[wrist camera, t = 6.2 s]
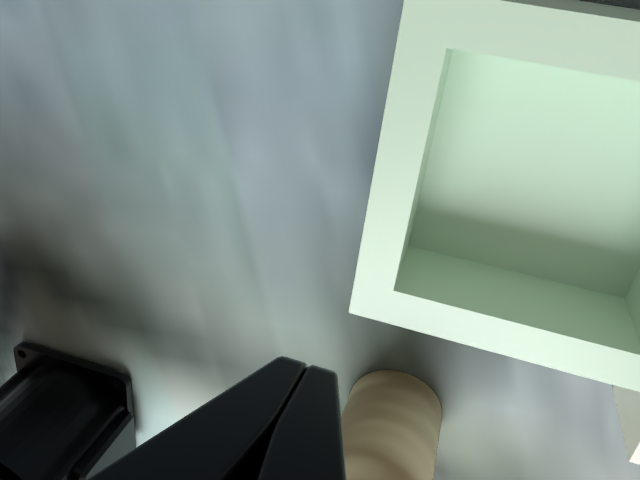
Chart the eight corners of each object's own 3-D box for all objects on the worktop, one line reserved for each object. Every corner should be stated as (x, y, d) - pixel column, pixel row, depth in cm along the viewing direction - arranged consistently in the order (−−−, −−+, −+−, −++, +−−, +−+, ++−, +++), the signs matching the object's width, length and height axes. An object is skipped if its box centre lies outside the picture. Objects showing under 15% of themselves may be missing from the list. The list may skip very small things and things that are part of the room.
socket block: (374, 253, 21) (348, 312, 18) (427, -23, 17) (406, -15, 13) (643, 321, 19) (672, 401, 16) (785, 32, 15) (867, 57, 12)
